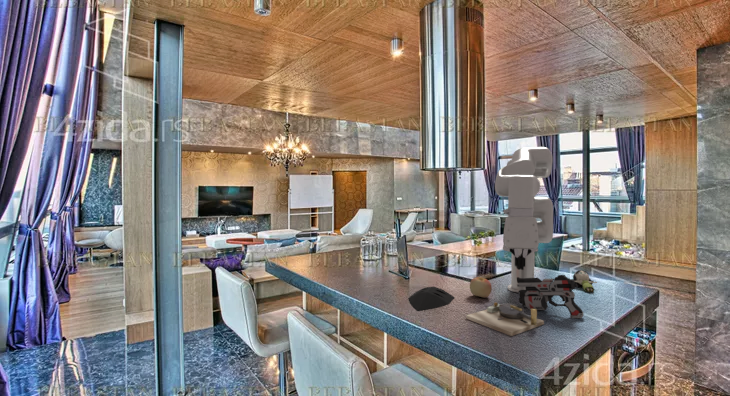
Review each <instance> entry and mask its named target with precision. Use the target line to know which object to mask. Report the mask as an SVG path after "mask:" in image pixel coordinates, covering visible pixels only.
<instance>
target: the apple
mask: <svg viewBox="0 0 730 396" xmlns="http://www.w3.org/2000/svg"><path fill="white" fill-rule="evenodd" d="M492 287H493V286H492V283H491V282H490V280H488V279H487V278H485V277H480V276H476V277H474V278H472V279H471V280H470V283H469V289H470V291H469V292H470V293H471V294H472V295H473V296H476V297H481V298H488V297H489V296H490V294H491V293H492Z"/></svg>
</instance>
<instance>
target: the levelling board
mask: <svg viewBox="0 0 730 396" xmlns="http://www.w3.org/2000/svg"><path fill="white" fill-rule="evenodd" d="M500 304H501V303H498V302H494V303H493V305H491V306H486V307H487V308H486V309H483V310H480V311H477V312H473V313H470V314H466V315H465V316H466V320H469V321H472V322H474V323H477V324H479V325H482V326H484V327H487V328H490V329H492V330H495V331H498V332H500V333H501V334H505V335H507V336H510V337H513V336H516V335H518V334H521V333H524V332H527V331H530V330H532V329H535V328H537V327H540V326H543V325H545V320H543V319H539V318H537V325H531V320H529V319H526V318H524V317H523V318H521V319H510V318H506V317H503V316H501V315H500V314H499V305H500Z"/></svg>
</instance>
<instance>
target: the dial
mask: <svg viewBox="0 0 730 396" xmlns="http://www.w3.org/2000/svg"><path fill="white" fill-rule="evenodd" d="M499 304H500V305H499V314H500V315H501V316H503V317H506V318H510V319H521V318H523V317H524V318H526V319H529V320H531V325H537V319H538V317H537V316H538V310H537V309H534V308H531V310H530V314H527V313H525V308H524V306H523V305H520V304H517V303H509V302H508V303H507V302H506V303H499Z"/></svg>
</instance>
